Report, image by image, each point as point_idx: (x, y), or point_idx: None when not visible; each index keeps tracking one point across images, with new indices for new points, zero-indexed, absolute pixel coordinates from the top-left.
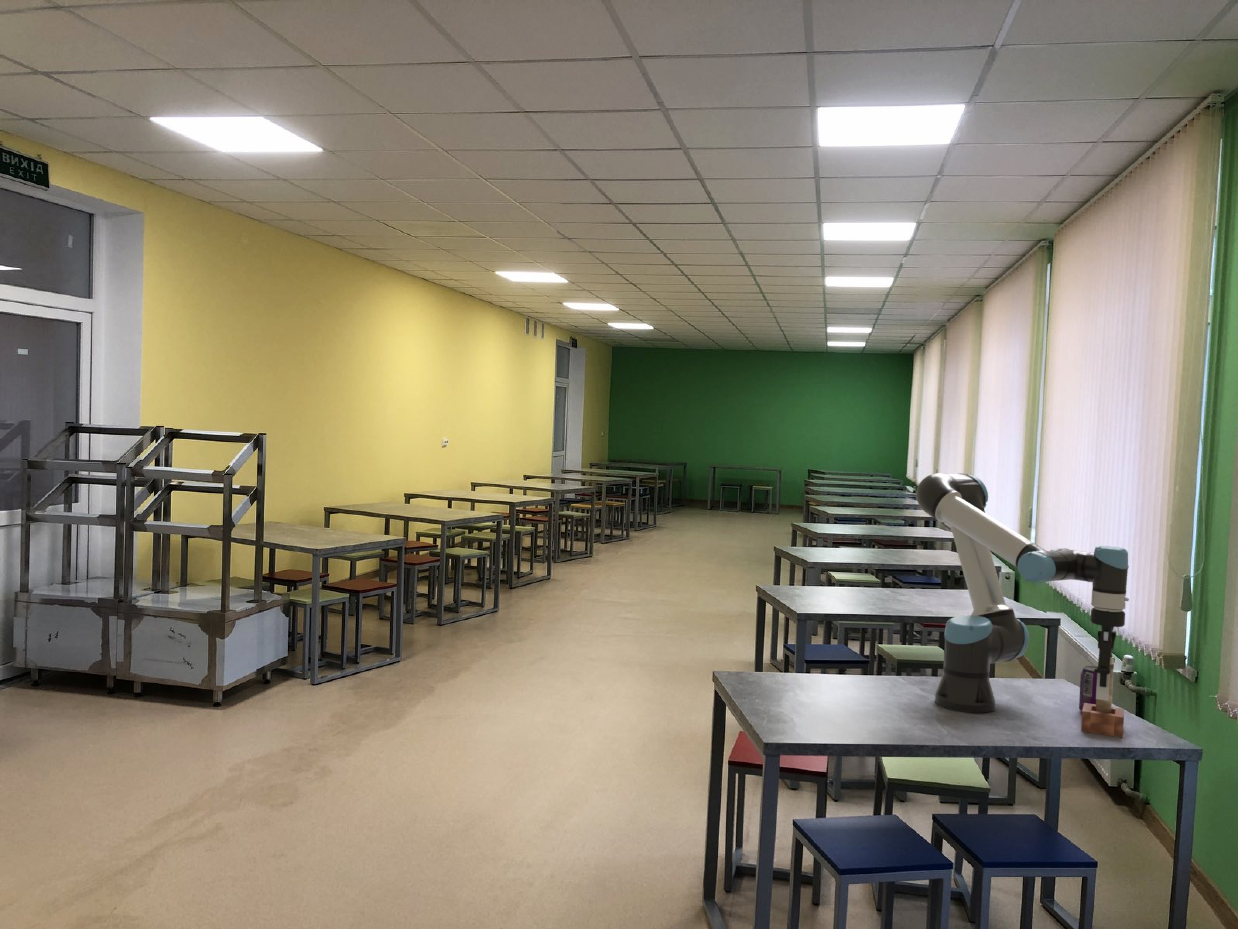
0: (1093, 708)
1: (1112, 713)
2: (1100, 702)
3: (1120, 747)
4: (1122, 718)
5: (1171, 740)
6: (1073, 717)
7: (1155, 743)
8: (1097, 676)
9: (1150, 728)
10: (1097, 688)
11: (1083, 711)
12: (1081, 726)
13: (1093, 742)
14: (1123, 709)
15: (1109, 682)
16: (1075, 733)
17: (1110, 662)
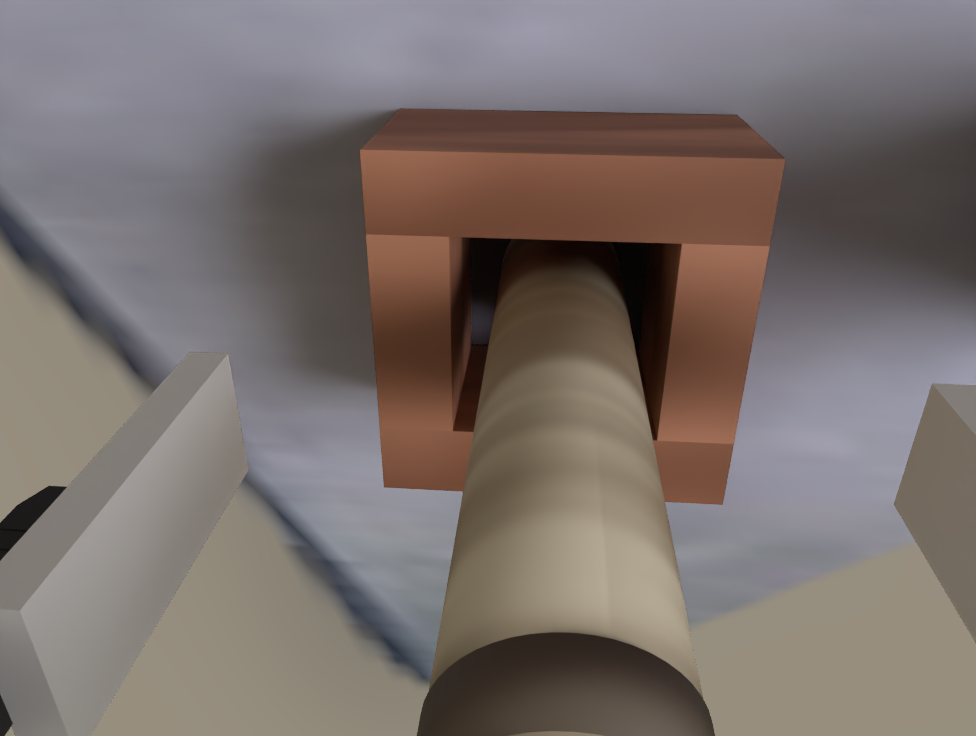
0: (677, 247)
1: (655, 396)
2: (491, 357)
3: (159, 376)
4: (383, 475)
5: None
6: (893, 12)
7: (428, 557)
8: (9, 555)
9: (812, 557)
10: (122, 438)
11: (363, 162)
12: (393, 117)
13: (132, 210)
14: (695, 498)
15: (143, 634)
16: (291, 63)
17: None
